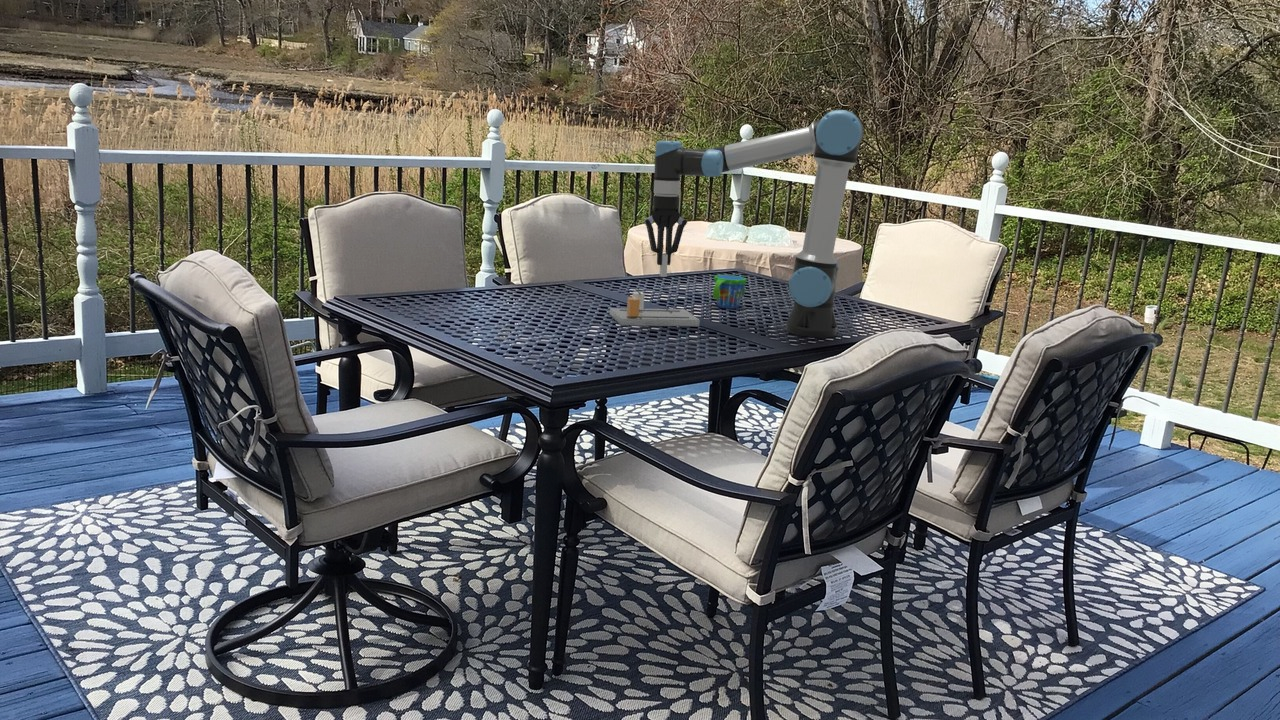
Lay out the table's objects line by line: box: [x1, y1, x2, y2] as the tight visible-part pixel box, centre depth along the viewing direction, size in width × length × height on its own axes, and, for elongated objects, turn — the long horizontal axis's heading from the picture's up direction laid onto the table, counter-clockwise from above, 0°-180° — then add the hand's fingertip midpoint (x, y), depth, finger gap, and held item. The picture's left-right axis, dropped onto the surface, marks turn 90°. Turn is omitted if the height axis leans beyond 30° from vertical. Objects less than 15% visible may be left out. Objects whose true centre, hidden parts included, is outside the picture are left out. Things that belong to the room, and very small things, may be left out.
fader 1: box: [632, 290, 645, 310], centre depth 300 cm, size 4×3×5 cm
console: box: [609, 307, 701, 327], centre depth 297 cm, size 17×24×2 cm
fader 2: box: [626, 295, 640, 316], centre depth 290 cm, size 4×3×5 cm
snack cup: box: [712, 274, 748, 310], centre depth 326 cm, size 16×10×10 cm
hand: (663, 276), depth 289 cm, fingers closed
